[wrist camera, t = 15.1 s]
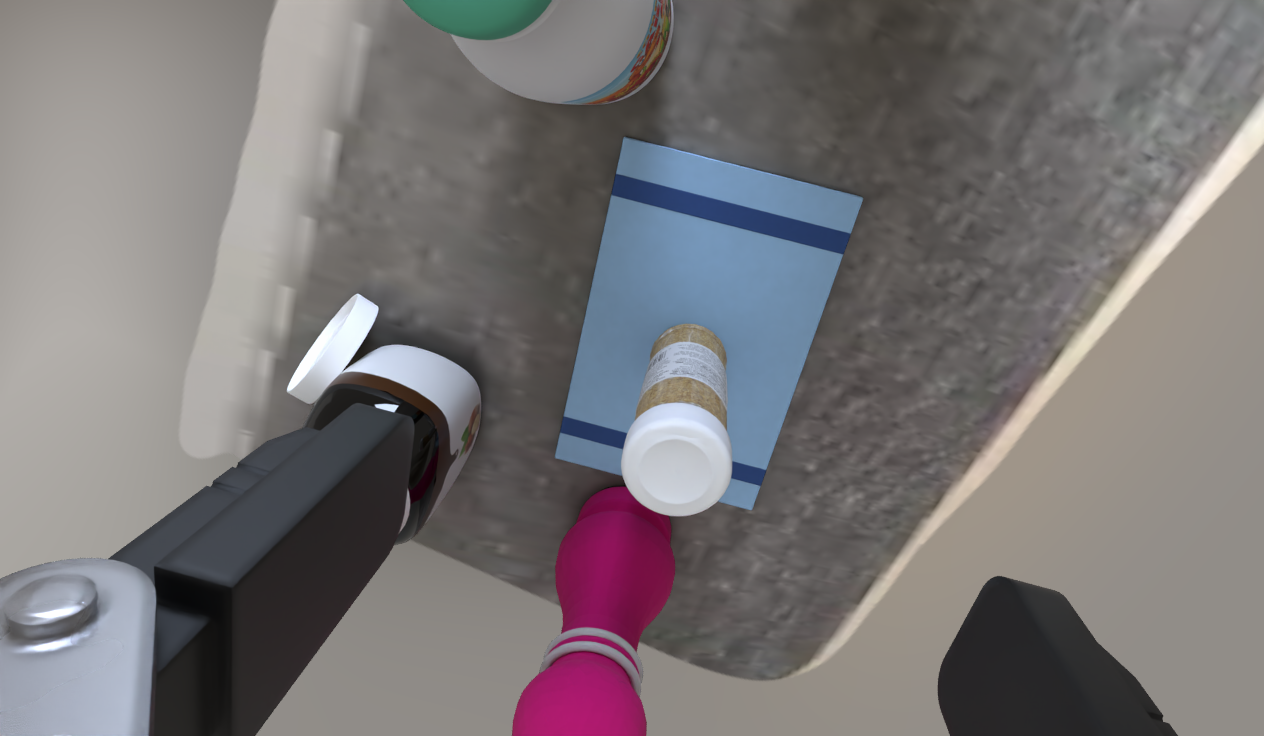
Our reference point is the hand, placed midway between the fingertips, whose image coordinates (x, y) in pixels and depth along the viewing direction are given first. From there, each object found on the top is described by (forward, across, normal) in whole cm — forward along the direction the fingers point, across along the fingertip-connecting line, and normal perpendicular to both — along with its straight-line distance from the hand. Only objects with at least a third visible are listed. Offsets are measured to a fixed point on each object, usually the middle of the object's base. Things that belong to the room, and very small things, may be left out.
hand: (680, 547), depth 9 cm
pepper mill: (+30, 0, +21) cm, 37 cm away
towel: (+30, -1, +7) cm, 31 cm away
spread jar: (+30, +16, +15) cm, 37 cm away
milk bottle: (+30, +8, -8) cm, 32 cm away
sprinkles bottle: (+30, -1, +8) cm, 31 cm away
